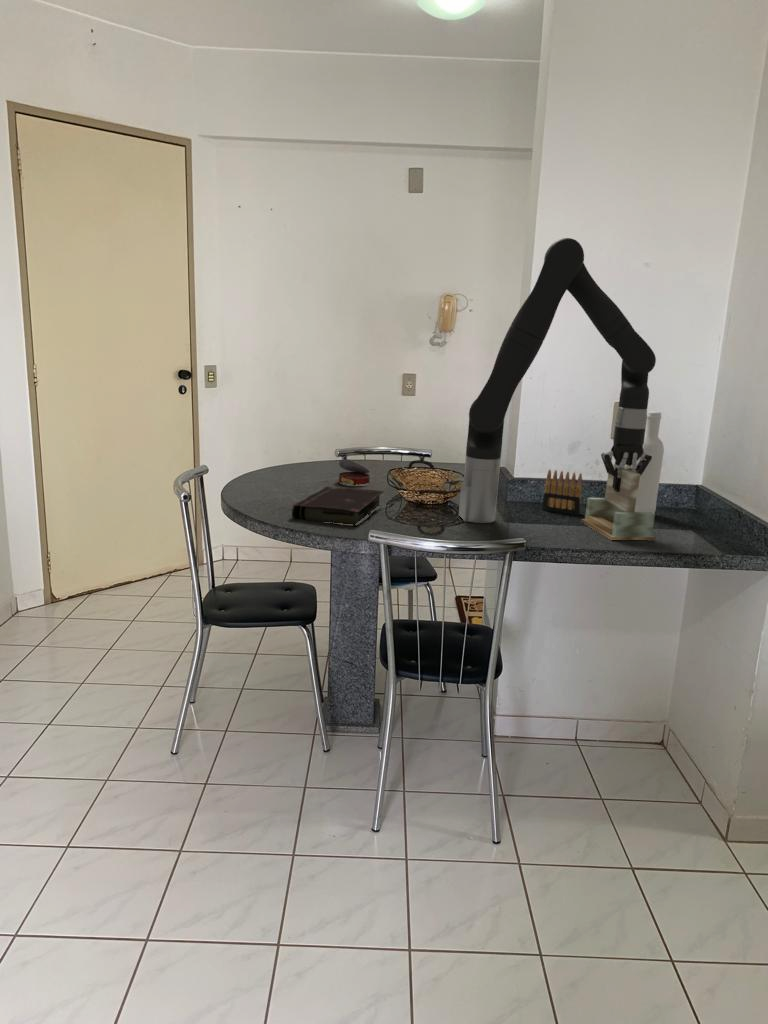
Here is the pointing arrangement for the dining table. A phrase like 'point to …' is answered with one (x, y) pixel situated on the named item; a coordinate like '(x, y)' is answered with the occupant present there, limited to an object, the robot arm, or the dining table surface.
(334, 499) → the diary
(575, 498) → the ammunition clip
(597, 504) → the slat holder
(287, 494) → the dining table surface
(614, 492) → the ash slat
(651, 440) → the bottle
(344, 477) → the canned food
